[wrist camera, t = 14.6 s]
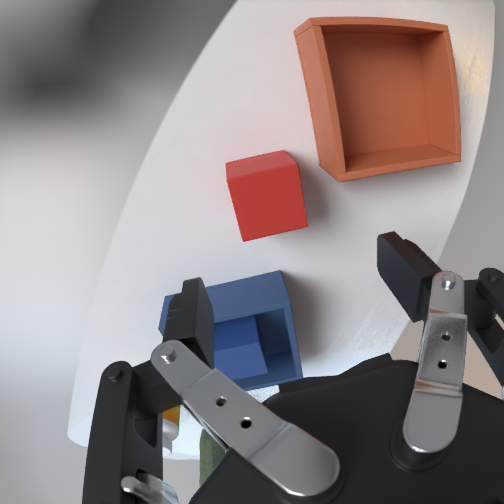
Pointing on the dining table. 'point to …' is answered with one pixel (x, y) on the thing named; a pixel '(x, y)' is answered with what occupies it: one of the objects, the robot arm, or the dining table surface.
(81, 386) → the dining table surface
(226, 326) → the blue block
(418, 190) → the dining table surface
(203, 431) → the vegetable
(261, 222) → the red block
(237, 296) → the blue bin
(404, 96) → the terracotta bin
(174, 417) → the supplement bottle
